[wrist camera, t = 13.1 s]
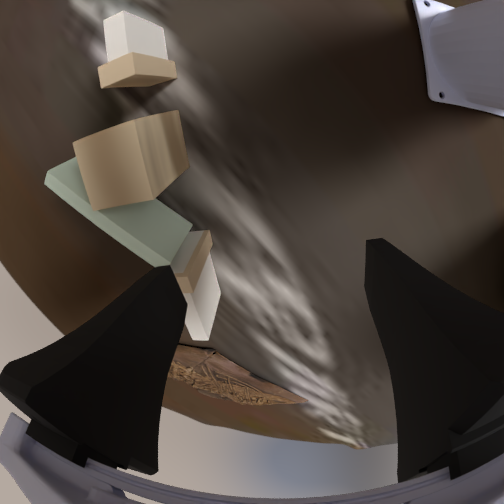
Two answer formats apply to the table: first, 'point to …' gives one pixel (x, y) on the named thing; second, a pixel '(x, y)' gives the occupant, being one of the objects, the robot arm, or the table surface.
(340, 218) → the table surface
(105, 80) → the wall frame
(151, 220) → the door
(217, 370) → the wooden fragment
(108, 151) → the block
